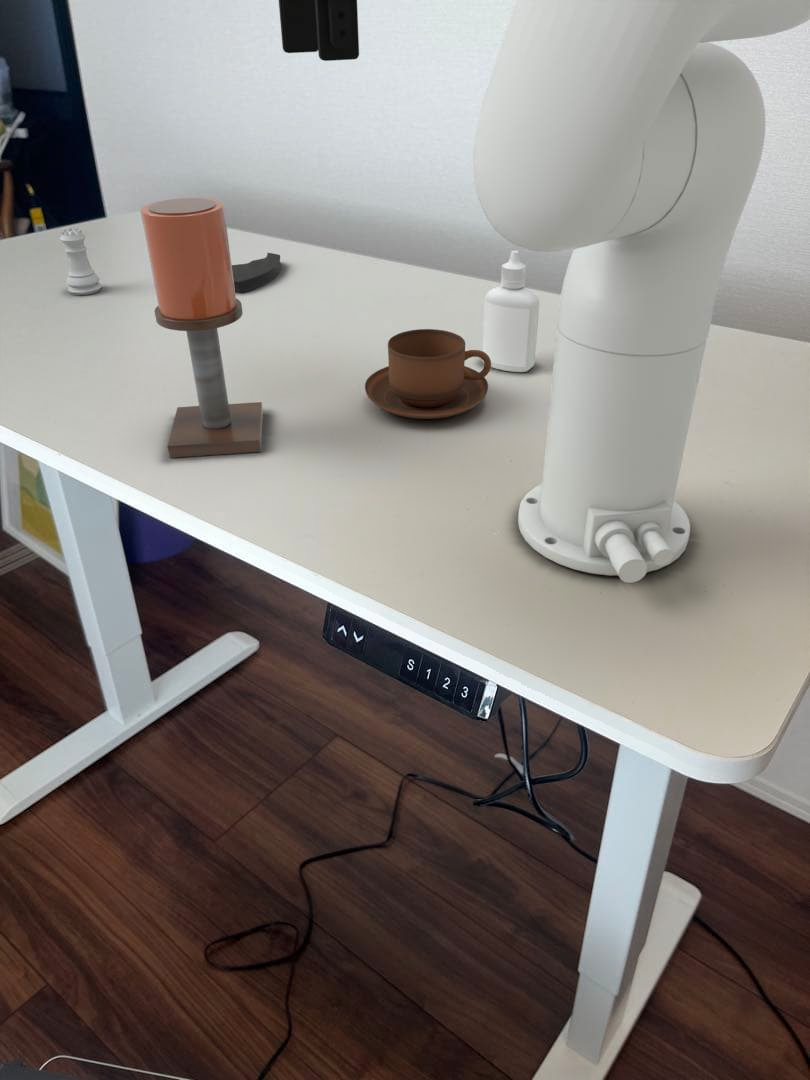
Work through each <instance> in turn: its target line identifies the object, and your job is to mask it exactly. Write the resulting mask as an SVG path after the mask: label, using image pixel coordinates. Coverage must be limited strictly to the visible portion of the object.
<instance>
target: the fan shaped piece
mask: <svg viewBox="0 0 810 1080" xmlns="http://www.w3.org/2000/svg"><path fill="white" fill-rule="evenodd" d="M281 270H282V264H281V255H280V254H277V253H273V252H267V254H266V256H265V257H264V258H259V259H253V260H251V261H249V262H247V263H239V264H232V272H233V280H234V287H235V292H238V293H242V294H243V293H247V292H249V291H252V290H255V289H258V288H260V287H263V286H265V285H267V284H268V283H270V282H271V281H273V280H275V278H276V277H277V276H278V275H279V273H280V272H281Z"/></svg>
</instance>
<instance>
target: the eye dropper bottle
mask: <svg viewBox="0 0 810 1080" xmlns="http://www.w3.org/2000/svg"><path fill="white" fill-rule="evenodd" d="M526 272H527V265H526V264H524V262H521V260H520V252H519V251H518V250H511V252H510V255H509V259H508V261H507V262H505V263H502V265H501V275H500V276H501V277H500V285H499V286H496V287H493V288H491V289H490V290H489V291H487V292H486V294H485V296H484V302H483V318H482V337H481V338H482V341H481V351H483V352H485V353H486V354H487V355H488V356H489V358H490V360H491V368H493V369H496V370H499V371H505V372H512V373H525V372H528V371H529V370H530V369H532V368H533V367H534V365H535V362H536V351H537V341H538V340H537V339H538V328H539V327H538V326H539V316H540V315H539V313H540V299H539V297H538V296H537V294H536V293H534V292H533V291H532V290H530V289H528V288H526V287H525V286H526ZM481 363H483V364H484V361H483V360H482V359H481Z"/></svg>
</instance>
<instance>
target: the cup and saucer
mask: <svg viewBox="0 0 810 1080" xmlns="http://www.w3.org/2000/svg"><path fill="white" fill-rule="evenodd" d="M387 357H388V366H384V367H383V368H380V369H378V370H377V371H375V372H373V373H371V375H370V376H368V378H367V379H366V381H365V383H364V390H365V394H366V397H367V398H368V399H369V400H370V402H371V403H373V404H374V405H375V406H376V407H378V408H379V409H381V410H383V411H385V412H388V413H390V414H393V415H395V416H399V417H404V418H410V419H421V420H422V419H424V420H430V419H431V420H432V419H442V418H448V417H453V416H457V415H461V414H463V413H466V412H468V411H470V410H472V409H473V408H475V407H476V406H477V405H479V404H480V403H481V402H482V401H483V400H484V399H485V398H486V396H487V394H488V390H489V383H488V379H486V376H488V375H489V373H490V371H491V370H492V369H491V368H492V367H491V360H490V358H489V356H488V355H487V354H486V353H485V352H483V351H482V350H481V349H469V350H466V341H465V339H464V338H463V337H462V336H461V335H459V334H457V333H454V332H452V331H448V330H443V329H436V328H435V329H434V328H423V329H422V328H420V329H419V328H417V329H411V330H405V331H402V332H399V333H397V334H395V335H393V336H392V337H390V339H389V340H388V341H387ZM470 358H479V359H481V361H482V360H483V361H484V363H483V364H484V365H483V368H482V369H481V371H477V370H475V369H473V368H471V367H469V366H466V365H465V362H466V361H467V360H469V359H470Z"/></svg>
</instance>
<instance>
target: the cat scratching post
mask: <svg viewBox="0 0 810 1080" xmlns="http://www.w3.org/2000/svg"><path fill="white" fill-rule="evenodd" d="M236 302H237V305H236V307H235V308H234V309H233V310H232V311H230V312H228V313H226V314H223V315H220V316H216V317H212V318H206V319H197V320H181V319H173V318H169V317H166V316H164V315H162V314H161V313H160V311H159V306H158V305H157V306H156V307H155V308H154V317H155V322H156V323H157V325H159V326H160V327H162V328H165V329H168V330H172V331H177V332H186V337H187V338H186V339H187V343H188V349H189V354H190V361H191V367H192V371H193V378H194V385H195V390H196V395H197V402H198V405H193V406H178V407H177V408H176V411H175V415H174V419H173V423H172V427H171V431H170V435H169V438H168V441H167V451H168V452H167V453H168V457H169V459H174V458H176V459H177V458H189V457H204V456H217V455H234V454H235V455H236V454H248V453H261V452H262V439H263V421H264V419H263V418H264V409H263V402H262V401H258V402H240V403H229V398H228V391H227V384H226V378H225V369H224V365H223V363H224V362H223V357H222V351H221V344H220V337H219V331H218V329H219V328H223V327H226V326H228V325H231V324H233V323H235V322H237V321H238V320H240V319H241V318H242V316H243V314H244V313H243V304H242V301H241V300H240V299H238V298H237V297H236Z"/></svg>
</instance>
